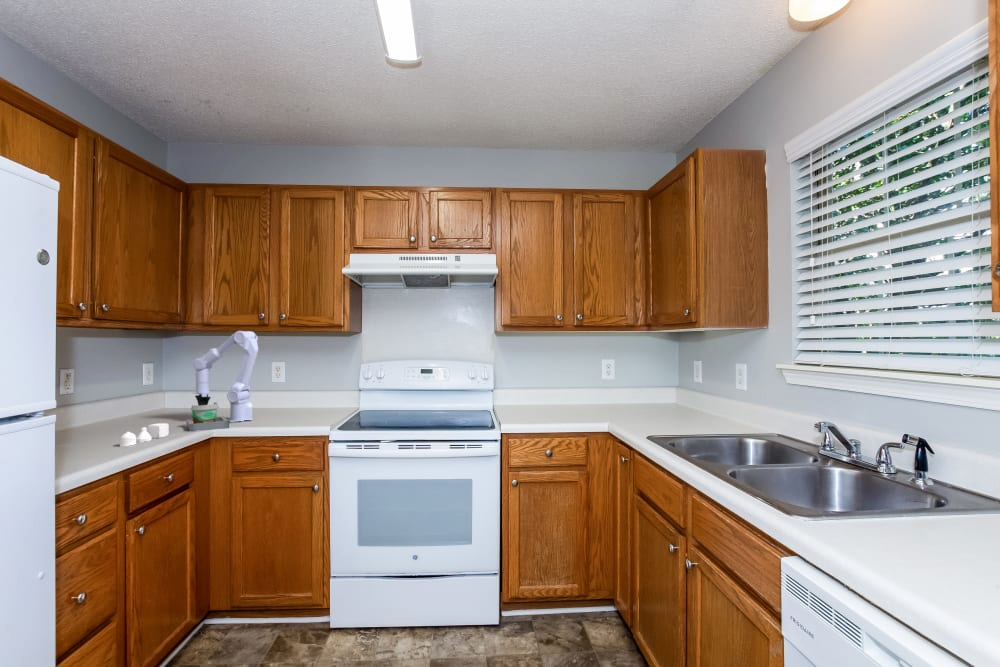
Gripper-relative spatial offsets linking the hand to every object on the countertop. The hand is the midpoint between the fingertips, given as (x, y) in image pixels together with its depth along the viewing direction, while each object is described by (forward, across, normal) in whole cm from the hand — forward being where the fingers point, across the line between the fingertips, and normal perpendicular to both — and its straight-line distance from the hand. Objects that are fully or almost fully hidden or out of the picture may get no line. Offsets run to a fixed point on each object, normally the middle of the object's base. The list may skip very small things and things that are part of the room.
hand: (202, 410), depth 235 cm
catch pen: (+5, +21, 0) cm, 22 cm away
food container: (+5, +18, 0) cm, 19 cm away
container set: (+6, +41, -24) cm, 48 cm away
